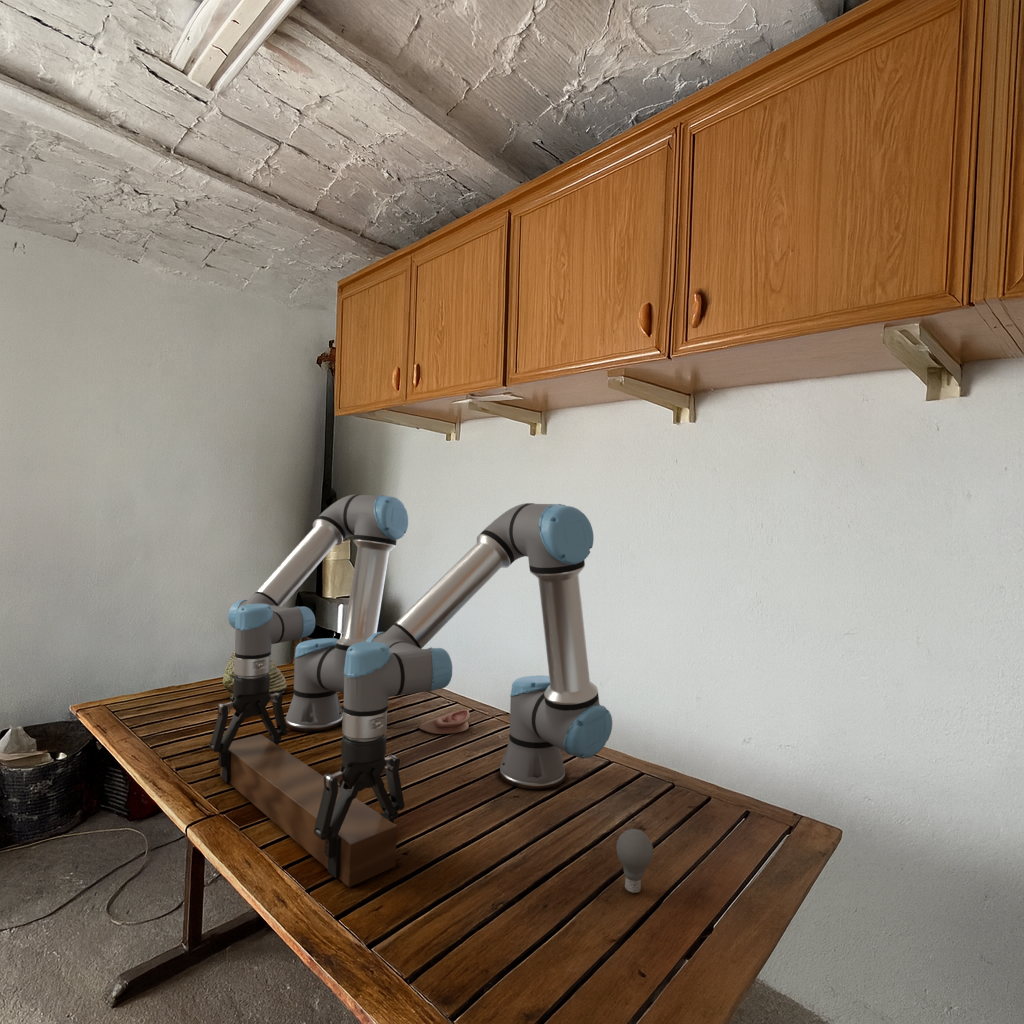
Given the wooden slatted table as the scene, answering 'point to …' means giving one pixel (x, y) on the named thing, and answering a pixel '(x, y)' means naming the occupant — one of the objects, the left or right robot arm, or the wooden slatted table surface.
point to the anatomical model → (447, 723)
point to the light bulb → (634, 857)
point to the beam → (310, 808)
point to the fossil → (275, 675)
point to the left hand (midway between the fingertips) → (248, 773)
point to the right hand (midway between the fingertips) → (359, 862)
